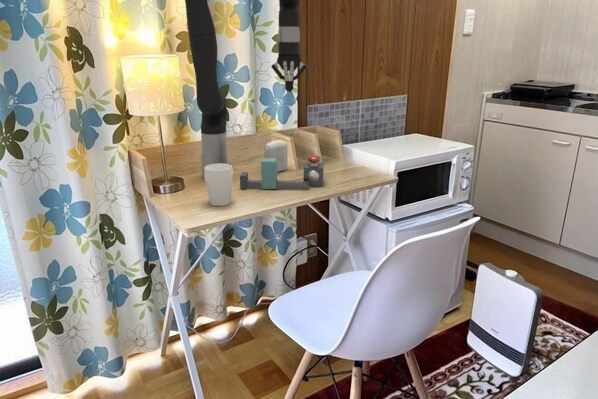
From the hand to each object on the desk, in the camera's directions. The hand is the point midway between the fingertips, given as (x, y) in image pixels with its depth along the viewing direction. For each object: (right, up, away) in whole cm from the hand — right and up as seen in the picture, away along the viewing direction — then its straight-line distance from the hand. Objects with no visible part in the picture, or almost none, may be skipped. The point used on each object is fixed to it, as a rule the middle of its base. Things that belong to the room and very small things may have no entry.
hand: (289, 91), depth 166 cm
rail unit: (-2, -33, +2) cm, 34 cm away
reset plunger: (+9, -30, +2) cm, 32 cm away
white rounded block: (-6, -28, +18) cm, 34 cm away
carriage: (-7, -35, -2) cm, 35 cm away
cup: (-22, -40, -16) cm, 48 cm away
